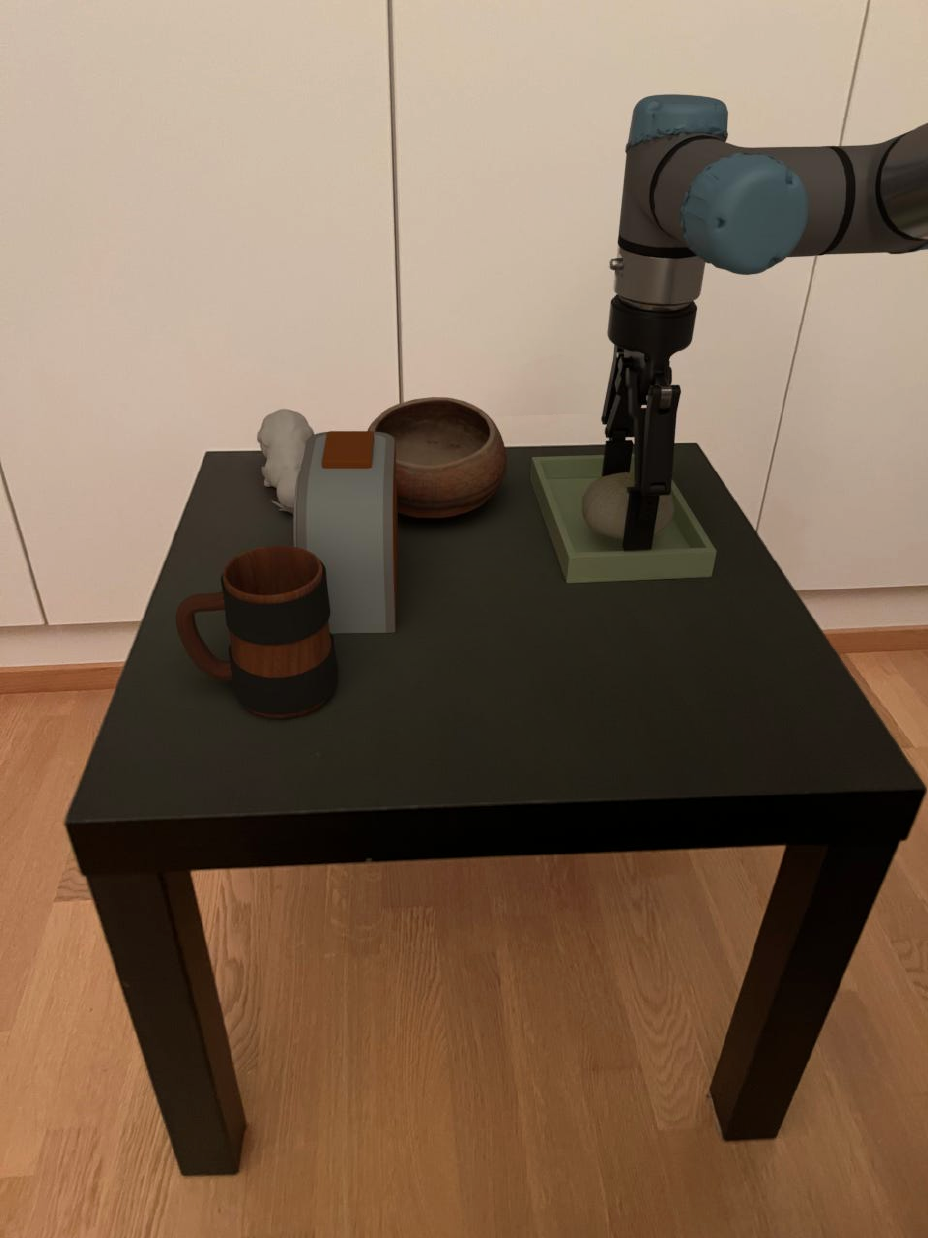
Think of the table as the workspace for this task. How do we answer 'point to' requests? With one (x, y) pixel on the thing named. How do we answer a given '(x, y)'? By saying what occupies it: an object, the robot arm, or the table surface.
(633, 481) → the sea urchin shell
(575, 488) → the tray
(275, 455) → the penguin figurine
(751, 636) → the table surface
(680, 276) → the robot arm
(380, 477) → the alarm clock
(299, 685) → the mug
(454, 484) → the bowl
